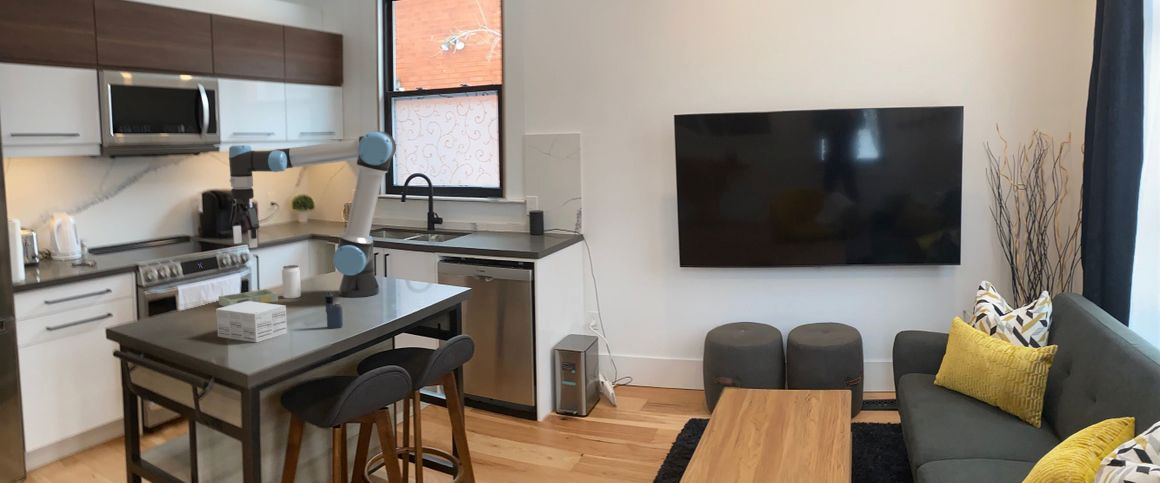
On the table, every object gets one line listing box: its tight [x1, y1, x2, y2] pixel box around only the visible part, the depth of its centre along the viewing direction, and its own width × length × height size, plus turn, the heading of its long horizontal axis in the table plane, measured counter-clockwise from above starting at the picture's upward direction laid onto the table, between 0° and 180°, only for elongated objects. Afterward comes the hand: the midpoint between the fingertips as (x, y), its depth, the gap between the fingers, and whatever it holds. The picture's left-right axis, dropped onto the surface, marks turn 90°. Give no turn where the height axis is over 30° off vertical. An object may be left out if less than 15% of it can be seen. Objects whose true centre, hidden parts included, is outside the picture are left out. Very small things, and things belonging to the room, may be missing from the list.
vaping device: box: [324, 291, 344, 329], centre depth 267 cm, size 3×5×12 cm, turn 95°
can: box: [281, 264, 302, 300], centre depth 312 cm, size 6×6×12 cm
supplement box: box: [215, 301, 288, 343], centre depth 258 cm, size 17×13×9 cm
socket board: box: [218, 288, 279, 307], centre depth 302 cm, size 10×18×3 cm, turn 135°
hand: (245, 245), depth 300 cm, fingers open, 13 cm apart
